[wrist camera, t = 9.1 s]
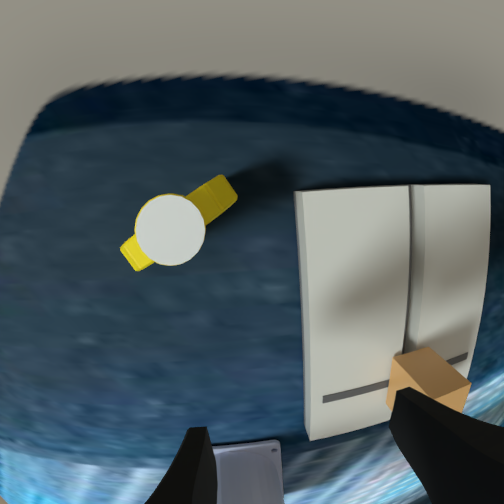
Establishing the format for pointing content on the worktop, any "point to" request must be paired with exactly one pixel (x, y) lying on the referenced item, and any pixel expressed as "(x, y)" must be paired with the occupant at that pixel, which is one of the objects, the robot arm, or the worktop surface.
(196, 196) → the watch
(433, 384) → the fader tab
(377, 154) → the worktop surface
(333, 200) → the fader console
